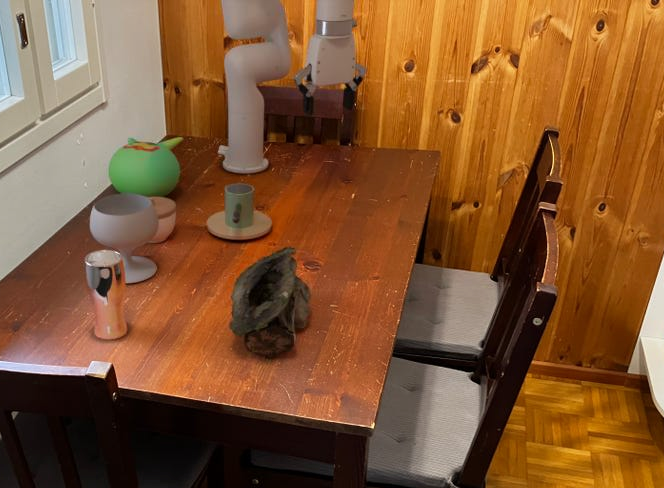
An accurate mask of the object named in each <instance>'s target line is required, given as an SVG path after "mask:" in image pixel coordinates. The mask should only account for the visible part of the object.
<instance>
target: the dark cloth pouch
mask: <svg viewBox="0 0 664 488" xmlns="http://www.w3.org/2000/svg"><path fill="white" fill-rule="evenodd" d="M295 254H296V248H295V247H292V246H286V247H283V248H282V249H280V250H276V251H275V252H272V253H271V254H268V255H267V256H263V257H261V258H258V260H257V261H256V262H253V263H252V264H251V265H249V266H247V267H246V268H245V270H243V271H242V272H241V273H240V274H239V276H237V278H236V281H235V282H234V284H233V289H232V293H231V295H230V299H231V302H232V306H231V316H232V320H231V321H230V322H229V324H228V328H229V329H230V331H232V333H233V334H234V335H237V336H239V337H240V338H242V337H243V336H244V337H243V341H244V347H245V348H246V350H247V351H248V352H249V353H252V354H254V355H257V356H260V357H264V358H265V359H268V360H269V359H274V358H277V357H278V356H280V355H283V354H285V353H287V352H291V351H292V350H293V348H294V347H295V344H296V341H297V334H296V330H295V329H303V328H305V327H306V325H307V321H308V317H309V316H310V315H311V310H310V303H311V302H310V301H311V299H312V294H311V288H310V287H309V286H308V283H306V282H304V281H303V279H302V278H301V277H300V276H298V275H297V269H298V262H297V260H296V258H294V257H292V256H291V255H295Z"/></svg>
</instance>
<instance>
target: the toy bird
mask: <svg viewBox="0 0 664 488" xmlns="http://www.w3.org/2000/svg"><path fill="white" fill-rule="evenodd" d="M183 140H184V137H182V136H179V137H174V138H171V139H168V140H164V141H161V142H157V143H155V142H150V141H139V140H136V139H135V138H133V137H128V138H127V144H125V145H124V146H121V147H120V148H118V149H117V150H116V151H115V152H114V153H113V154H112V156H111V158H110V161H109V164H108V171H107V172H108V178H109V180H110V182H111V184H112V186H113V188H114V189H115V190H116V191H117V192H119V194H123V193H130V194H138V195H142V196H145V197H164V198H165V197H166V196H168V195H169V194H170V193H171V192H172V191H174V189H175V188H176V187H177V184H178V183H179V180H180V177H181V168H180V163H179V160H178V158H177V156H176V155H175V154H174V153H173V152H172V151H171V150H172V149H174V148H175V147H177V146H178V145H179V144H180V143H181V142H183Z"/></svg>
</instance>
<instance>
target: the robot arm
mask: <svg viewBox="0 0 664 488" xmlns="http://www.w3.org/2000/svg"><path fill="white" fill-rule="evenodd" d="M220 2H221V9H222V17H223V23H224V28H225V32H226V35H227V36H228V37H229V38H230V39H231V40H247V39H248V40H249V39H257V38H263V39H264V42H256V43H255V42H254V43H248V44H240V45H237V46H235V47H232V48H230V49H229V50H228V51H227V53H226V54H225V57H224V61H223V63H224V64H223V65H224V66H223V67H224V73H225V79H226V87H227V109H228V110H227V115H228V118H227V119H228V120H227V125H228V127H227V130H228V131H227V132H228V133H227V137H228V138H227V139H228V140H227V142H228V143H227V145H228V146H227V145H222V144H221V145H219V147H218V150H217V155H219V156H224V159H223V161H222V168H223V169H224V170H225V171H227V172H231V173H234V174H245V175H246V174H256V173H260V172H263V171H265V170H267V169H268V167H269V160H268V159H267V158H265V157H264V131H265V129H264V128H265V99H264V96H263V94H262V93H261V91H260V90H259V88H258V87H257V84H259V83H260V84H261V83H267V82H273V81H278V80H282V79H284V78H286V77H287V76H288V75H289V73H290V71H291V67H292V53H291V46H290V37H289V29H288V19H287V14H286V13H287V12H286V9H285V7H284V4H283V2H282V1H281V0H220ZM354 7H355V0H316V8H315V9H316V12H315V28H314V29H315V30H314V34H311V36H310V39H309V43H308V48H307V52H306V58H305V67H304V68H302V69H301V70H298V72H296V73H295V74H293V75H292V80H293V82H294V84H295V87H296V89H297V90H298V91H299V92H300V93H301V94H302V110H303V113H304V114H306V115H307V116H313V115H314V105H315V103H314V102H315V98H314V96H313V94H314V93H315V91H316V90H317V88H322V87H331V86H338V85H344V86H345V88H344V89H343V96H342V108H345V109H346V110H348V111H352V110H353V105H354V103H355V92H356V91H357V90H358V87H359V86H360V85H361V84H362V82H363V80H364V77H365V76H366V74H367V72H368V68H367V67H366V66H364V65H362V64H361V63H358V62H356V41H355V35H354V33H352V32H353V28H355V27H357V26H358V19H354ZM356 71H357V72H356ZM355 72H356V75H355ZM303 79H304V82H306V83H305V84H304V83H303Z"/></svg>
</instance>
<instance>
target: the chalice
mask: <svg viewBox="0 0 664 488" xmlns="http://www.w3.org/2000/svg"><path fill="white" fill-rule="evenodd" d="M158 227H159V221H158V216H157V212H156V209H155V207H154V205H153V203H152V202H151V201H150V199H149V198H147V197H145V196H142V195H138V194H130V193H123V194H121V193H114V194H110V195H106V196H103V197H101V198H99V199H97V200H96V201H95V203H93V206H92V209H91V212H90V216H89V229H90V230H89V231H90V233H91V235H92V237H93V238H94V239H95V240H96V242H98V243H99V244H101V245H103V246H105V247H108V248H111V249H115V250H117V251H118V252H119V253H120V254H121V255H122V259H123V265H124V271H125V282H126V284H133V283H139V282H142V281H145V280H148V279H149V278H151V277H153V276H154V275H155V274H156V273H157V271H158V265H157V264H156V263H155V262H154V261H152V260H151V259H149V258H147V257H144V256H137V255H132V253H133V252H134V250H135V249H137V248H139V247H141V246H143V245H145V244H147V242H149V241H150V240H151V239H152V238H153V237H154V236H155V235H156V233H157V230H158Z"/></svg>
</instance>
